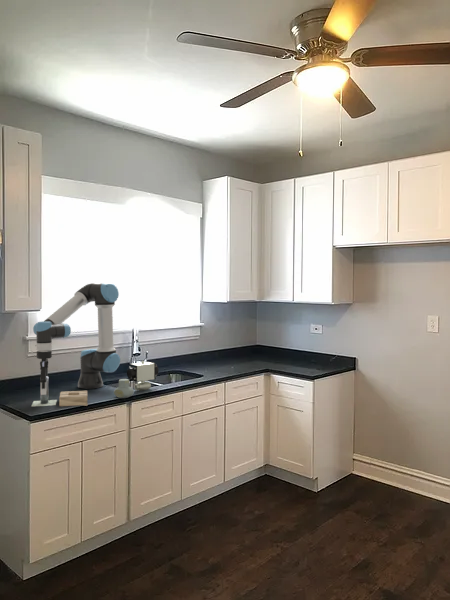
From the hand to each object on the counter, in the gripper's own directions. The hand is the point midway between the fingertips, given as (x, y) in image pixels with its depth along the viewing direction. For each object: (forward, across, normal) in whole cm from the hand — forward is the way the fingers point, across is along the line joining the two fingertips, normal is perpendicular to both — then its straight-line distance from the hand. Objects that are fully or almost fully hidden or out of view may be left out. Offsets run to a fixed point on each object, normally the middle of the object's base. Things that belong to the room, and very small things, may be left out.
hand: (44, 392), depth 266 cm
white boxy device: (+6, -22, +54) cm, 59 cm away
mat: (+6, 0, 0) cm, 6 cm away
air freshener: (+7, -6, +42) cm, 43 cm away
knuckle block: (+6, +2, +15) cm, 16 cm away
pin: (+6, 0, 0) cm, 6 cm away
